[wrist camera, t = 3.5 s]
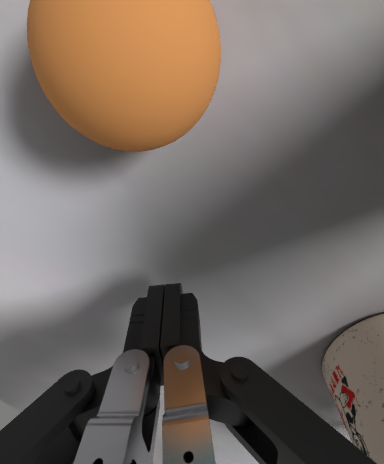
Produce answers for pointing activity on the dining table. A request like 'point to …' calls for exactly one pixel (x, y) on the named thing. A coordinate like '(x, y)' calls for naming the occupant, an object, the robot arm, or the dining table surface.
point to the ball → (126, 66)
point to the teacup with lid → (359, 383)
